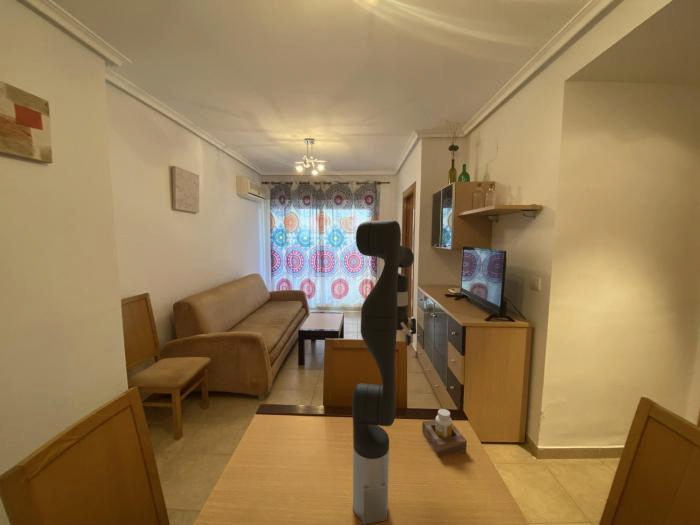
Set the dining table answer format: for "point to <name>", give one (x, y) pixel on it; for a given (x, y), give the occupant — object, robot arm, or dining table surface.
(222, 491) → the dining table surface
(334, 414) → the dining table surface
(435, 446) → the block
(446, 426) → the supplement bottle
